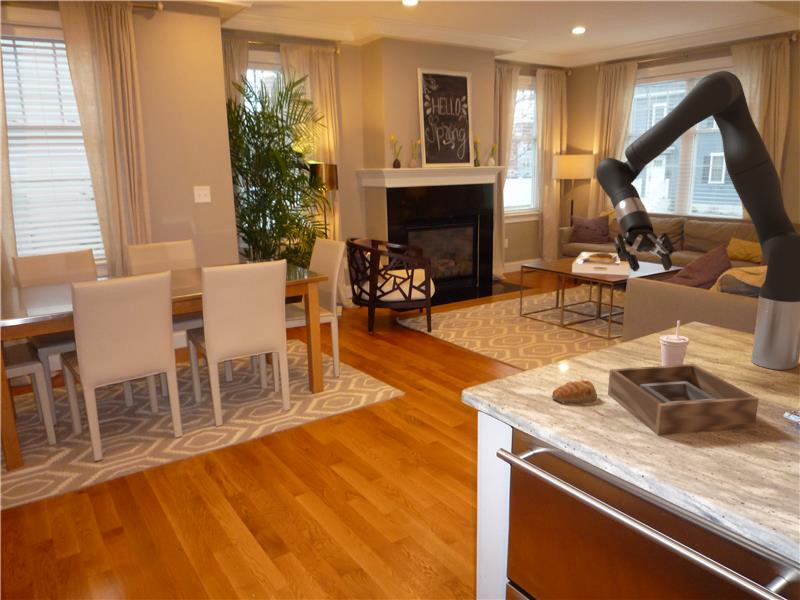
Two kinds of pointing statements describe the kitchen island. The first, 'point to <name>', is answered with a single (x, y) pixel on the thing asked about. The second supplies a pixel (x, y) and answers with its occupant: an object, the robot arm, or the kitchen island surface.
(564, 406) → the kitchen island surface
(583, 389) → the pastry
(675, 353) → the smoothie
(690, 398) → the crate
